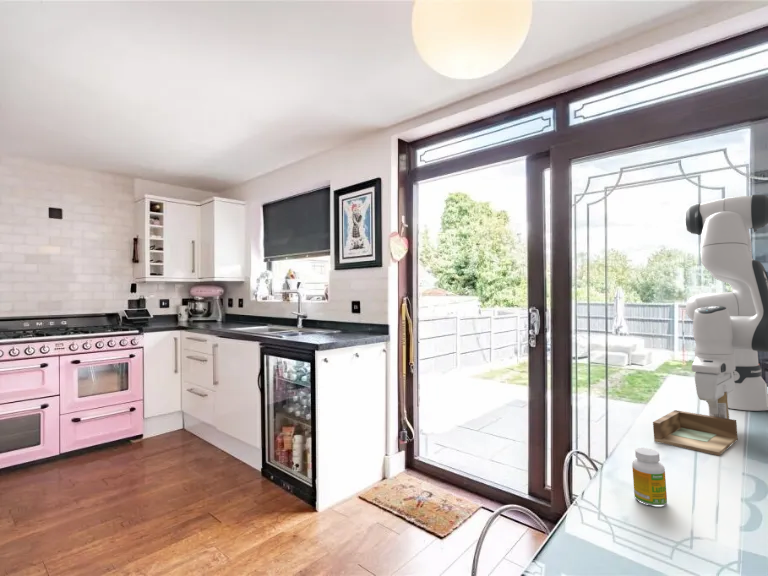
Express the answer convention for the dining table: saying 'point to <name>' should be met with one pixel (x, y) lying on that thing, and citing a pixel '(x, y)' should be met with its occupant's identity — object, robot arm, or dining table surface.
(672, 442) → the corner arena
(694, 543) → the dining table surface
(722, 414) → the sprinkles bottle
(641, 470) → the supplement bottle
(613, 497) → the dining table surface
